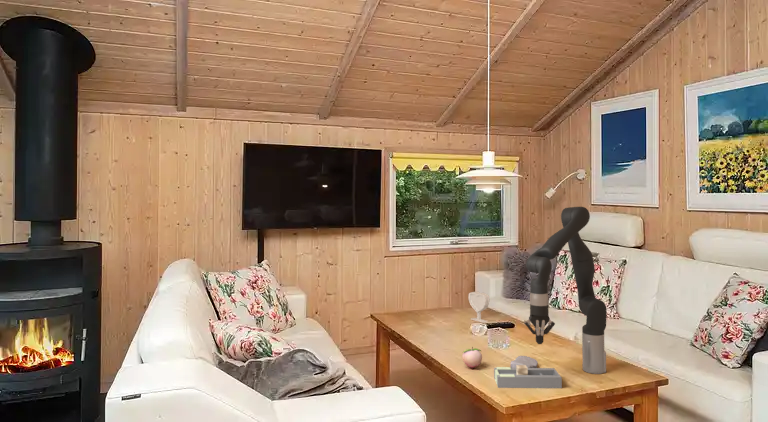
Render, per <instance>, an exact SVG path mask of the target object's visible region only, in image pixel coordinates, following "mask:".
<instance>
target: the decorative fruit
mask: <svg viewBox="0 0 768 422" xmlns="http://www.w3.org/2000/svg"><path fill="white" fill-rule="evenodd" d="M462 361H463V363H464V365H466V366H467V367H469V368H471V369H473V368H476V367H478V366H479V365H481V362H482V361H483V354H482V350H481V348H476V347H475V348H474V347H473V346H472V347H471V349H470V348H466V349H464V350H463V351H462Z"/></svg>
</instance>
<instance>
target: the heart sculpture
mask: <svg viewBox="0 0 768 422" xmlns="http://www.w3.org/2000/svg"><path fill="white" fill-rule="evenodd" d="M468 302H469V304H470V305H469V306H471V307H472V309H473V310H474V311H475V313H476V317H471V318H470V320H472V321H475V322H480V323H483V324H484V323H488V322H489V321H488V320H485V319H482V314H481V313H482V312H483V311H485V310H486V309H488V307H489V305H490V296H489V295H488V293H485V292H479V291H472V292H469V293H468Z"/></svg>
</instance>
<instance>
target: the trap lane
mask: <svg viewBox="0 0 768 422" xmlns="http://www.w3.org/2000/svg"><path fill="white" fill-rule="evenodd" d="M493 377H494V378H493V379H494V380H495V383H496V386H497V388H499V389H502V388H504V389H505V388H507V389H562V388H563V386H562V383H563V381H562V378H563V377H562V376H561V375H560V374H559V372H558V371H557V370H556V369H555V368H554V367H537V368H528V375H517V374H516V368H511V367H510V366H496V367H494V368H493Z"/></svg>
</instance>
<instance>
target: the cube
mask: <svg viewBox="0 0 768 422" xmlns="http://www.w3.org/2000/svg"><path fill="white" fill-rule="evenodd" d="M516 374H517V375H528V368H527V366H526V365H516Z"/></svg>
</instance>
